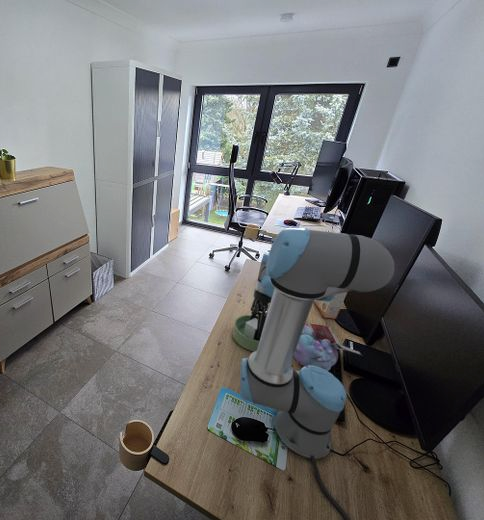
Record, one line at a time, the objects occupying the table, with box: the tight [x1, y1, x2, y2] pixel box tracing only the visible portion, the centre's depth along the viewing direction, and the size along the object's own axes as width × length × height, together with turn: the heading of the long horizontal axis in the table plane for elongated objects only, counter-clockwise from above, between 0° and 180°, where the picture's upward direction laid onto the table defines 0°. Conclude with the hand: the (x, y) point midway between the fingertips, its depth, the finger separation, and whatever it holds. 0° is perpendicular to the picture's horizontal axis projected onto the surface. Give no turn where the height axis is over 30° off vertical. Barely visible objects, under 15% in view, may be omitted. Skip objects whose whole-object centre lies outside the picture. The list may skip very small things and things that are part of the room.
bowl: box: [231, 314, 259, 352], centre depth 123 cm, size 17×17×6 cm
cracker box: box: [313, 292, 348, 320], centre depth 139 cm, size 14×6×21 cm, turn 168°
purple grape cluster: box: [293, 322, 362, 372], centre depth 112 cm, size 20×22×18 cm
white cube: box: [244, 318, 258, 339], centre depth 122 cm, size 6×6×6 cm
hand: (253, 334), depth 123 cm, fingers closed on white cube, 8 cm apart
